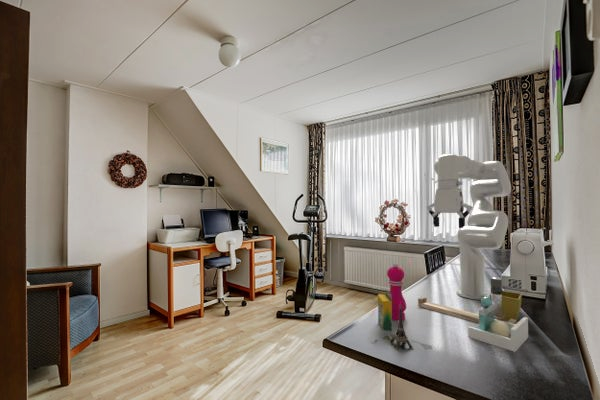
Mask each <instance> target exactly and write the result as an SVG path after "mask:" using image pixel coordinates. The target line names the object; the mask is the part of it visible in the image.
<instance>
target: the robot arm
mask: <svg viewBox="0 0 600 400" xmlns="http://www.w3.org/2000/svg"><path fill="white" fill-rule="evenodd" d="M433 169H434V172H435V173H436V175H437V188H436V190H435V194H434V202H433V203H432V204H430V205H428V206H426V209H427V210H428V212H429V215H430V216H432V219H433V221H432V225H433V227H435V228H436V227H437V228H438V227H440V217H439V215H440V214H444V213H445V214H457V215H458V216H459V217H458V228H459V229H458V231H457V241H458V246H459V271H460V274H459V275H460V277H459V279H460V280H459V281H460V289H458V290H456V295H458V296H460V297H462V298H466V299H470V300H478V301H479V300H480V301H481V299H482V298H483V297H488V298H490V295H489V294H488V293H486V289H485V288H486V284H485V281H486V279H485V277H486V276H485V275H486V274H485V258H484V255H483V253H482V251H481V250H480V249H487V250H498V249H500V248H502V247H503V243H504V240H505V237H506V235H507V230H508V227H509V218H508V215H507V214H506V213H505V211H502V210H494V205H493V204H492V203H491V202H490V201H489V200H488V199H487V198H495V197H496V198H499V197H500V198H501V197H507V196H509V195H510V194H511V192H512V185H511V180H510V178H509V175H508V172H507V170H506V168H505V165H504V164H503V163H502V162H501V161H499V160H494V161H491V160H490V161H484V162H483V161H482V162H480V161H477V160H474V159H471V158H470V157H468V156H467V155H457V154H454V153H450V154H442V155H440V156H438V158H437V159H436V161H435V162H434V165H433ZM460 179H470V180H473V182H472V183H471V184H470V186H469V194H470V199H471V202H472V206H471V205H470V204H467V203H465V202H464V195H463V190H462V187H460V186H462V185H463V181H460ZM433 208H434V210H433ZM465 208H466V210H465ZM466 218H467V222H466ZM466 223H467V225H466Z"/></svg>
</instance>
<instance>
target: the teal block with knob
mask: <svg viewBox="0 0 600 400" xmlns="http://www.w3.org/2000/svg"><path fill="white" fill-rule="evenodd" d="M502 291H503V279H502V278H501V277H497V276H491V277H490V293H491V299H490V297H489V298H488V297H483V298H482V299H481V300H480V303H481V305H483V306H481V307H480V308H479V309H478V315H479V323H478V329H480V330H484V331H487V332H491V329H490V326H491V324H492V323H493V322H494V319H497V320H501V321H505V322H506V320H505V315H502Z"/></svg>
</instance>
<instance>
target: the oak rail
mask: <svg viewBox="0 0 600 400" xmlns="http://www.w3.org/2000/svg"><path fill="white" fill-rule="evenodd" d="M417 306H418V307H421V308H424V309H428V310H430V311H431V310H432V311H435V312H439V313H442V314H446V315H449V316H452V317H453V316H454V317H456V318H461V319H464V320H467V321H471V322H475V323H478V324H479V313H478V314H477V313H473V312H470V311H466V310H462V309H458V308H455V307H450V306H446V305H443V304H439V303H435V302H431V301H429V300H428V301H427V297H426V296H421V297H419V298H417ZM507 322H508V323H512V324H517V319H516V320H514V319H510V320H509V321H507Z"/></svg>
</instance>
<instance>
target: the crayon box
mask: <svg viewBox="0 0 600 400" xmlns="http://www.w3.org/2000/svg"><path fill="white" fill-rule="evenodd" d="M388 295H390V297H388ZM377 309H378V310H377V311H378V312H377V313H378V315H377V316H378V318H377V320H378V321H377V322H378V323H379V325H380V327H381V328H382V330H383V331H384V332H393V320H392V295H391V294H390V291H388V290H387V289H385V294H380V293H379V294H377Z"/></svg>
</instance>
